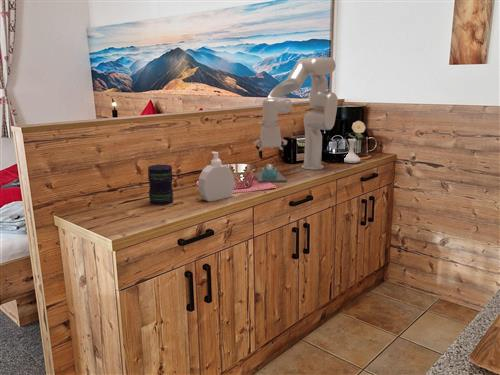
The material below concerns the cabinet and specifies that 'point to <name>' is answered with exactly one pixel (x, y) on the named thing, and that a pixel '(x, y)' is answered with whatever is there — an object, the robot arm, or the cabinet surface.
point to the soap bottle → (216, 181)
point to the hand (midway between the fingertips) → (270, 157)
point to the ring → (269, 172)
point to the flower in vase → (357, 128)
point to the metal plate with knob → (272, 180)
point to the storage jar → (160, 184)
